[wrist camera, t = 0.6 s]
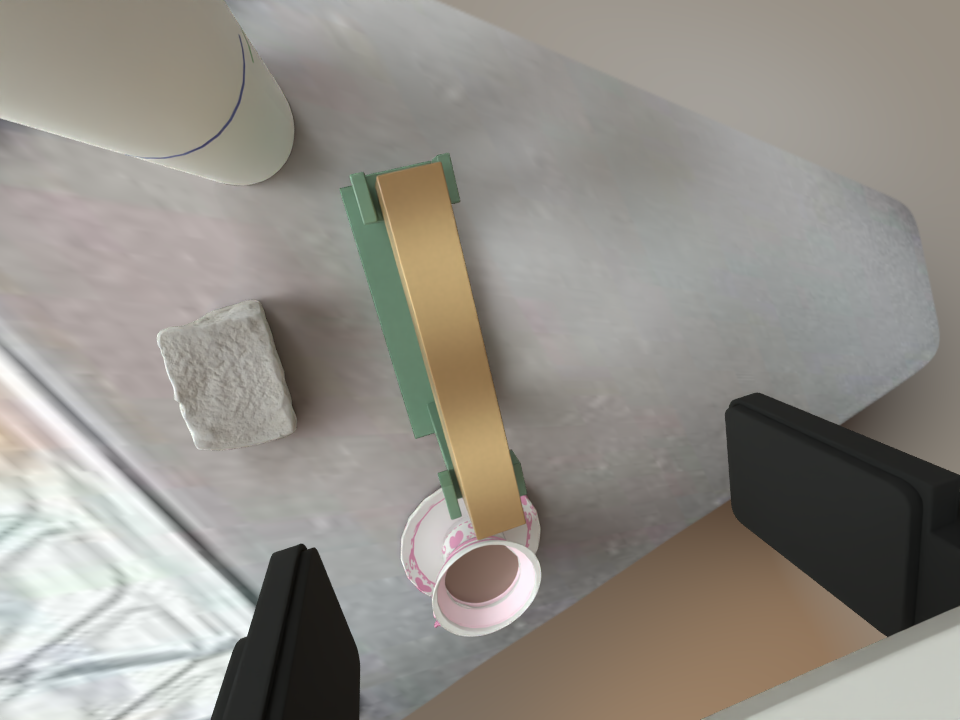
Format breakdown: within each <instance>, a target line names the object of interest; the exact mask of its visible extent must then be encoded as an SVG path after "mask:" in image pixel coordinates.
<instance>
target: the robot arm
mask: <svg viewBox="0 0 960 720" xmlns="http://www.w3.org/2000/svg"><path fill="white" fill-rule="evenodd" d="M725 422H726V436H727V450H728V463H729V477H730V491H731V505H732V510H733V512H734V515H735V516H736V518H737V519H738V520H739V521H740V522H741V523H742V524H743V525H744V526H745V527H747V528H748V529H749V530H751V531H752V532H753V533H754V534H756V535H757V536H758V537H759V538H761V539H762V540H763V541H765V542H766V543H767V544H768V545H770V546H771V547H772V548H774V549H775V550H776V551H777V552H779V553H780V554H781V555H783V556H784V557H785V558H786V559H788V560H789V561H790V562H791V563H793V564H794V565H795V566H797V567H798V568H799V569H800V570H802V571H803V572H804V573H806V574H807V575H808V576H809V577H811V578H812V579H813V580H815V581H816V582H817V583H818V584H820V585H821V586H822V587H823V588H825V589H826V590H827V591H829V592H830V593H831V594H833V595H834V596H835V597H836V598H838V599H839V600H840V601H842V602H843V603H844V604H845V605H847V606H848V607H849V608H850V609H852V610H853V611H854V612H855V613H857V614H858V615H859V616H861V617H862V618H863V619H864V620H866V621H867V622H868V623H870V624H871V625H872V626H873V627H875V628H876V629H877V630H879V631H880V632H881V633H883V634H884V635H886V636H887V638H885V639H882V640H880V641H878V642H875V643H873V644H871V645H869V646H866V647H864V648H862V649H859V650H857V651H855V652H853V653H850V654H848V655H846V656H843V657H841V658H839V659H836V660H834V661H832V662H830V663H827V664H825V665H823V666H820V667H818V668H816V669H814V670H812V671H809V672H807V673H805V674H802V675H800V676H798V677H796V678H793V679H791V680H789V681H787V682H784V683H782V684H780V685H778V686H775V687H773V688H771V689H768V690H766V691H764V692H762V693H759V694H757V695H755V696H753V697H750V698H748V699H746V700H744V701H742V702H739V703H737V704H735V705H733V706H730V707H728V708H726V709H723V710H721V711H719V712H717V713H714V714H712V715H710V716H708V717H706V718H703V719H701V720H960V475H958V474H956V473H954V472H951V471H949V470H946V469H944V468H941V467H939V466H936V465H934V464H932V463H929V462H927V461H924V460H922V459H919V458H917V457H915V456H912V455H909V454H907V453H905V452H902V451H900V450H898V449H895V448H893V447H890V446H888V445H885V444H883V443H881V442H878V441H875V440H873V439H871V438H868V437H866V436H864V435H861V434H859V433H856V432H854V431H851V430H849V429H846V428H844V427H841V426H839V425H837V424H834V423H832V422H829V421H827V420H825V419H822V418H820V417H817V416H815V415H812V414H810V413H808V412H805V411H803V410H800V409H798V408H795V407H793V406H791V405H788V404H786V403H783V402H781V401H778V400H776V399H774V398H771V397H769V396H766V395H764V394H761V393H753V394H750V395H747V396H744V397H741V398H738V399H735V400H733V401H732V402H731V403H730V405H729V408H728V409H727V410H726V412H725ZM359 701H360V660H359V654H358V650H357V647H356V644H355V641H354V639H353V637H352V634H351V632H350V629H349V627H348V624H347V622H346V619H345V617H344V614H343V612H342V609H341V607H340V605H339V602H338V600H337V597H336V595H335V592H334V590H333V587H332V585H331V582H330V580H329V577H328V575H327V573H326V570H325V568H324V565H323V563H322V560H321V558H320V555H319V553H318V551H317V549H316V548H311V549H308V550H307V548H306V546H305V545H304V544H299V545H296V546H293V547H290V548H287V549H284V550H281V551H278V552H275V553H273V554H272V556H271V559H270V562H269V565H268V569H267V572H266V575H265V579H264V582H263V585H262V589H261V592H260V595H259V599H258V602H257V605H256V609H255V612H254V615H253V619H252V622H251V625H250V629H249V632H248V635H247V637H244V638H242V639H240V640H239V641H238V642H237V643H236V645H235V647H234V650H233V652H232V655H231V658H230V661H229V664H228V667H227V671H226V674H225V677H224V680H223V683H222V686H221V689H220V692H219V695H218V698H217V701H216V705H215V708H214V711H213V714H212V717H211V720H359Z"/></svg>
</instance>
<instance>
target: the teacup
mask: <svg viewBox="0 0 960 720" xmlns="http://www.w3.org/2000/svg"><path fill="white" fill-rule="evenodd" d="M520 498H521V502H522V507H523V511H524V515H525V519H526V524H524V525H521V526H518V527H515V528H513V529H510V530H507V531H504V532H501V533H498V534H496V535H493V536H490V537H487V538H484V539H481V540H477V537H476V535H475V532H474V529H473V526H472V523H471V520H470V517H469V515H468V512H467V509H466V506H465V503H464V500H463V498H460V499H457V500H458V503H459V507H460V510H461V514H462V517H460V518H457V519H454V520H451V518H450V514H449V511H448V508H447V504H446V501H445V498H444V494H443V491H442V487H441V488H440V489H438V490H437V491H436V492H434V493H433V494H431V495H430V496H428V497H427V498H425V499H424V500H423V501H422V502H421V504H420V505H419V506H418V507H417V508H416V510H415V511H414V512H413V513H412V514H411V516H410V517H409V519H408V522H407V524H406V527H405V529H404V532H403V534H402V537H401V561H402V564H403V567H404V569H405V572H406V575H407V577H408V578H409V580H410V581H411V582H412V583H413V584H414V585H415V586H416V587H417V588H418V590H419V591H420V592H422V593H424V594H426V595H428V596H430V597H432V607H433V615H434V617H435V618H436V619H437V621H436V622H435V624H434V627H435V628H436V627H438V626H442V627H443V628H444V629H446V630H448V631H449V632H451V633H453V634H456V635H460V636H481V635H486V634H489V633H492V632H495V631H497V630H500V629H502V628H503V627H505V626H507V625H509V624H510V623H512V622H513V621H514V620H516V619H517V618H518V617H519V616H520V615H522V614H523V613H524V612H525V610H526V609H527V608H528V607H529V606H530V604H531V603H532V601H533V600H534V598H535V596H536V594H537V592H538V589H539V586H540V582H541V568H540V564H539V561H538V559H537V557H536V556H535V554H536V552H537V550H538V547H539V540H540V531H541V527H540V523H539V519H538V514H537V510H536V509H535V507H534V506H533V504H532V503H531V502H530V500H529V499H528V497H527V496H526V495H524V496H521V497H520Z"/></svg>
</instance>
